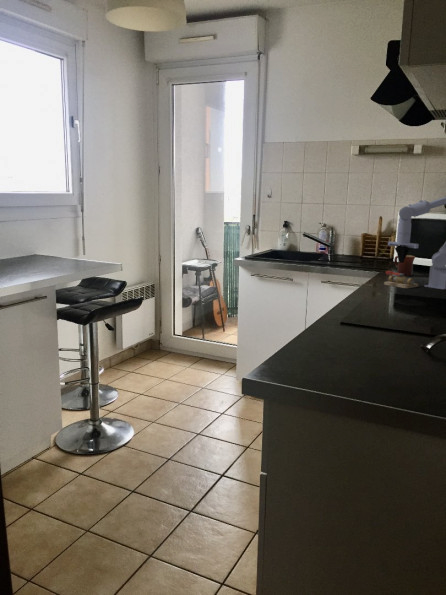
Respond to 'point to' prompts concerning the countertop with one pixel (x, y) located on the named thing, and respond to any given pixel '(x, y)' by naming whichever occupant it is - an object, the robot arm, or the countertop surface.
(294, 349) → the countertop surface
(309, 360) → the countertop surface
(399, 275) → the valve lever
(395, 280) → the valve board
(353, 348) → the countertop surface
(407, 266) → the mug
